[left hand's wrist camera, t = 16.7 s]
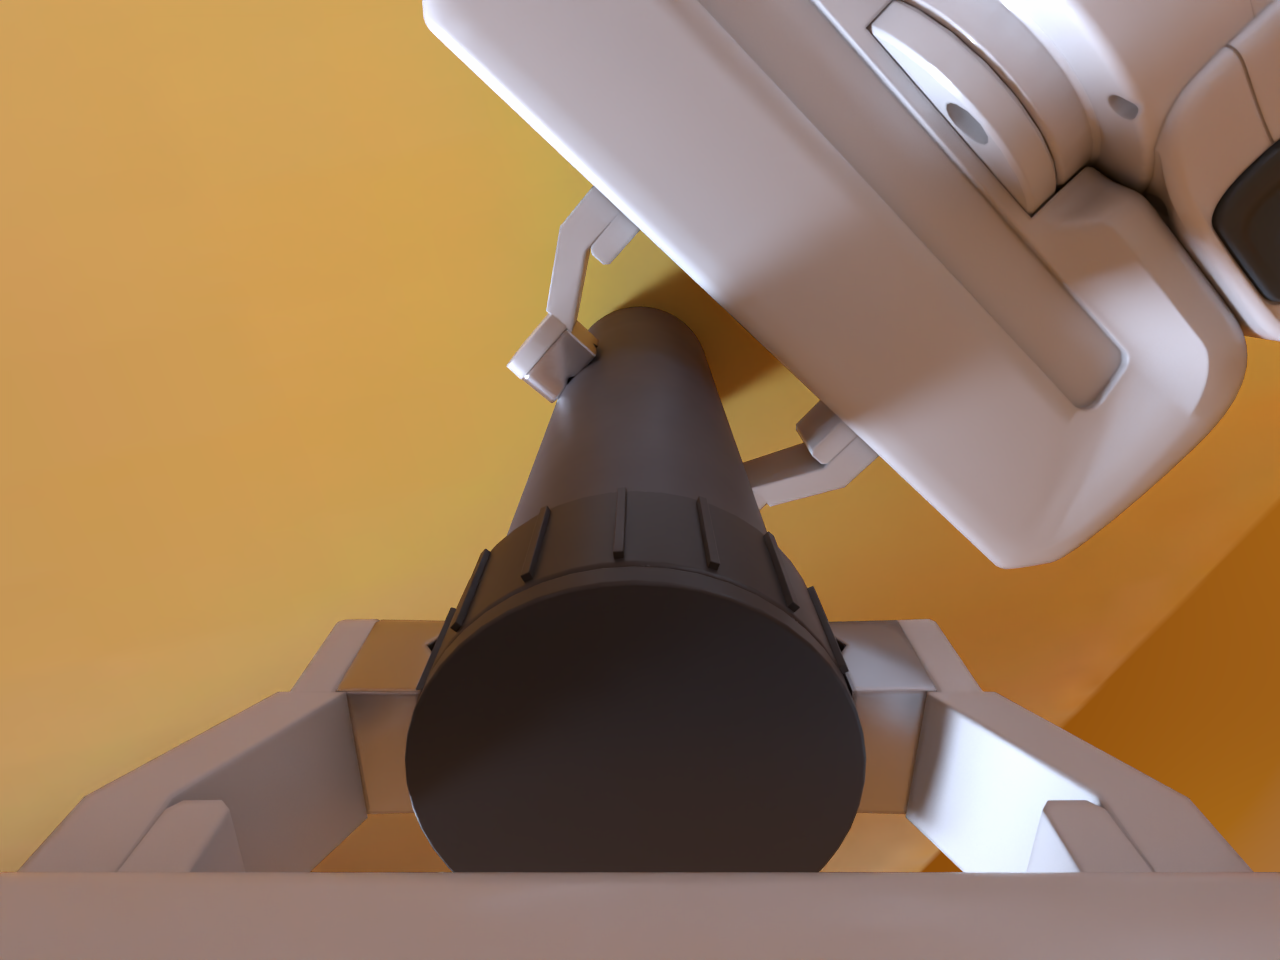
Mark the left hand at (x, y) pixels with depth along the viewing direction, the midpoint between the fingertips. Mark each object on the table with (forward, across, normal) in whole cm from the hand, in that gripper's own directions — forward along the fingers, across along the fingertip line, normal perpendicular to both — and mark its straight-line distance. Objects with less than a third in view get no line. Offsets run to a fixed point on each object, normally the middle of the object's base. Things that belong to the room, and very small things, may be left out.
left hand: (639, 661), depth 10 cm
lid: (-2, 0, 0) cm, 2 cm away
